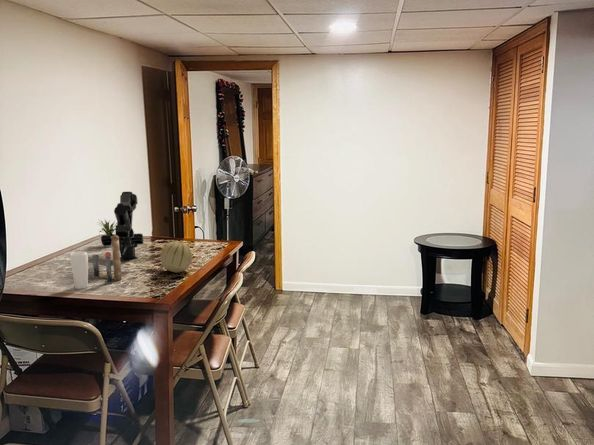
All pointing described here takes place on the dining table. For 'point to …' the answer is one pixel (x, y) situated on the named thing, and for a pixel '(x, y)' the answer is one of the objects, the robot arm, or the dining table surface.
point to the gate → (115, 259)
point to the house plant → (107, 231)
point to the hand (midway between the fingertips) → (121, 255)
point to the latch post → (108, 268)
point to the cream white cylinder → (80, 269)
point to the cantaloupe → (176, 256)
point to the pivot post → (95, 266)
